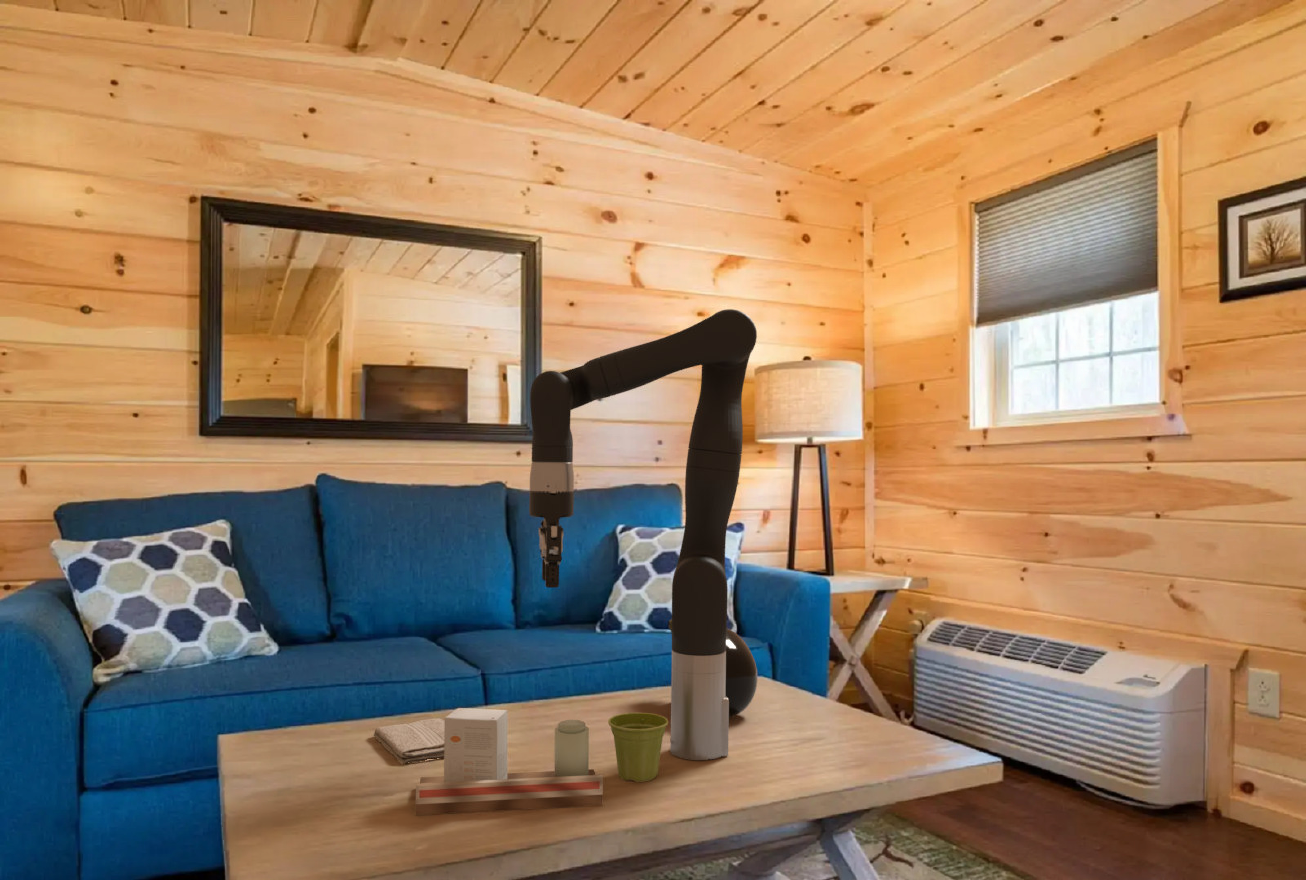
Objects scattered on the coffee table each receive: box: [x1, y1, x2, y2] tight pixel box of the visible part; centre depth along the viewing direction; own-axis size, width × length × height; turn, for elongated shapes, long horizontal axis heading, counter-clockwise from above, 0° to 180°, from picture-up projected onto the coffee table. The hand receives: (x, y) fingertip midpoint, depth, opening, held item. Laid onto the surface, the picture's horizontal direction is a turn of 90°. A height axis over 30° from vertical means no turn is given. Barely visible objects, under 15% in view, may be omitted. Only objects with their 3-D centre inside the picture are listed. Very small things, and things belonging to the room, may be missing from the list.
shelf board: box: [414, 768, 604, 816], centre depth 136 cm, size 26×11×4 cm, turn 100°
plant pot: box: [607, 712, 669, 783], centre depth 145 cm, size 9×9×9 cm
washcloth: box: [373, 717, 445, 765], centre depth 159 cm, size 12×18×3 cm, turn 32°
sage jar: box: [554, 719, 590, 777], centre depth 137 cm, size 5×5×9 cm
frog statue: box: [667, 618, 758, 718], centre depth 186 cm, size 19×16×25 cm
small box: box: [443, 707, 508, 782], centre depth 136 cm, size 8×6×10 cm
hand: (550, 583), depth 158 cm, fingers open, 8 cm apart
